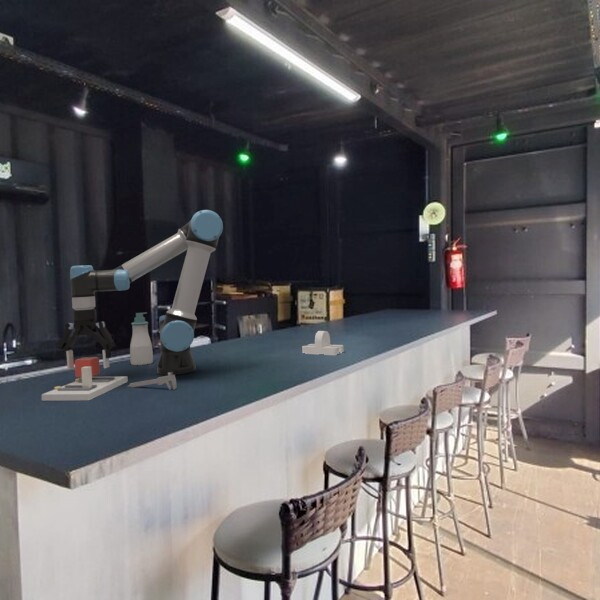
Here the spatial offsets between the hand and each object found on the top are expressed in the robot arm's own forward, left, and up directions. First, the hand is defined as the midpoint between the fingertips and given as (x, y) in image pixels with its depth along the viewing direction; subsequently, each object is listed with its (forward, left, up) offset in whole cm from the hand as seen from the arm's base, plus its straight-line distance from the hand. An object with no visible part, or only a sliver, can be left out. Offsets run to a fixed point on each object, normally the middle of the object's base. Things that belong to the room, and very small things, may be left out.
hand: (88, 368), depth 169 cm
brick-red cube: (0, 0, -2) cm, 3 cm away
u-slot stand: (-80, -65, -7) cm, 103 cm away
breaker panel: (-3, +6, -7) cm, 9 cm away
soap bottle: (0, -43, -7) cm, 43 cm away
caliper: (-24, +3, -7) cm, 26 cm away
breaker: (-6, +12, -4) cm, 14 cm away
